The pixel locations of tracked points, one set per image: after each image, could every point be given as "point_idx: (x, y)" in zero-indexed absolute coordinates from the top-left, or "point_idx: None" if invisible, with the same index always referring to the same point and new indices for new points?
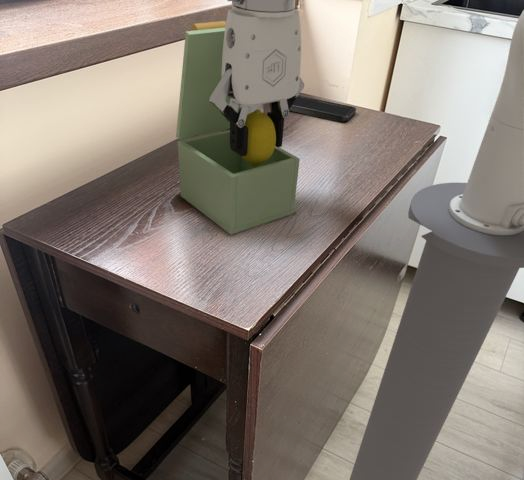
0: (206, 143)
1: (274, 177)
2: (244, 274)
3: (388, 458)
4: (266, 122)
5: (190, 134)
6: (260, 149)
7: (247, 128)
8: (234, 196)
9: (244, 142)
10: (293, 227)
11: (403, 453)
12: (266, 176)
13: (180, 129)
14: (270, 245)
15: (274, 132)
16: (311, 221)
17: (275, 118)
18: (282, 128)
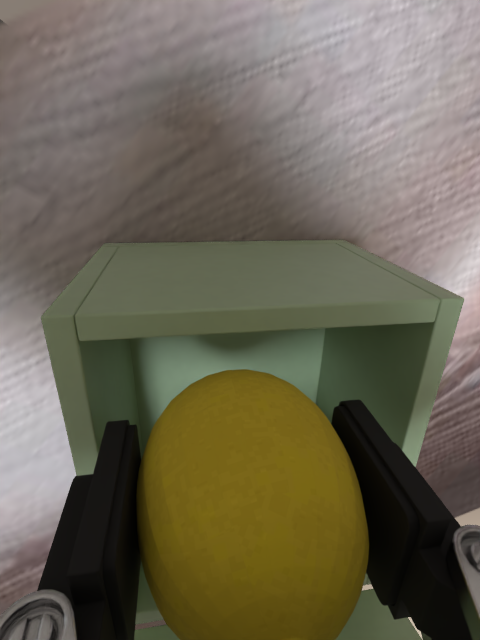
0: None
1: (214, 287)
2: (461, 31)
3: None
4: (266, 548)
5: None
6: (293, 395)
7: (420, 514)
8: (398, 271)
9: (391, 444)
10: (158, 170)
11: (3, 23)
12: (262, 291)
13: (407, 622)
14: (293, 122)
15: (188, 473)
16: (73, 166)
17: (121, 597)
18: (93, 506)
